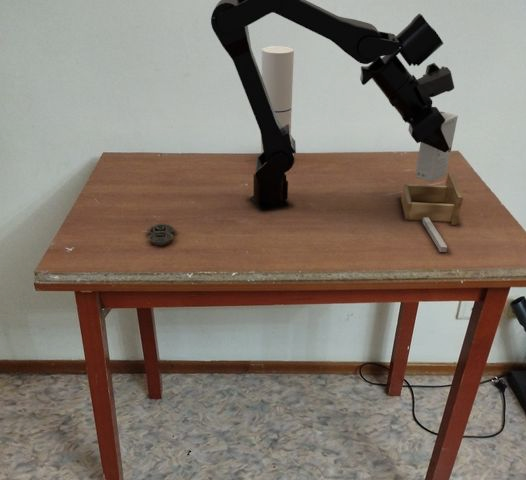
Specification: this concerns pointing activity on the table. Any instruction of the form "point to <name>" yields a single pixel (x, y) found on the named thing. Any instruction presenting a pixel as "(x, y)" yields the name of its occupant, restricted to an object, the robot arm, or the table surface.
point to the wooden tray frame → (433, 193)
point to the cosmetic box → (436, 153)
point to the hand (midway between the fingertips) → (443, 144)
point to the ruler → (434, 234)
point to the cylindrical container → (279, 81)
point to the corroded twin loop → (160, 234)
